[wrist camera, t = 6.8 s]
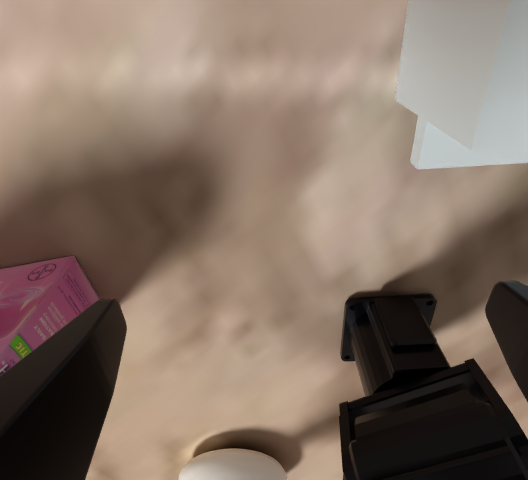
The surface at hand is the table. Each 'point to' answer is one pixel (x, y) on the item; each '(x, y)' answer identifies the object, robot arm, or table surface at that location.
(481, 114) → the lid
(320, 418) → the table surface
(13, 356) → the box
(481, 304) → the table surface
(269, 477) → the flower in vase
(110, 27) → the table surface
